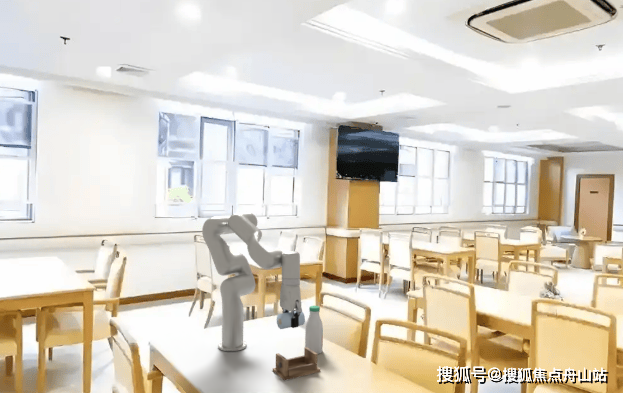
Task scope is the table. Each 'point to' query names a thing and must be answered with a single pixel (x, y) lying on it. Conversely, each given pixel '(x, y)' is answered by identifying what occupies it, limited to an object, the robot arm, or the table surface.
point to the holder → (296, 365)
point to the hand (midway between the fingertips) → (290, 324)
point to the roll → (288, 320)
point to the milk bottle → (314, 330)
